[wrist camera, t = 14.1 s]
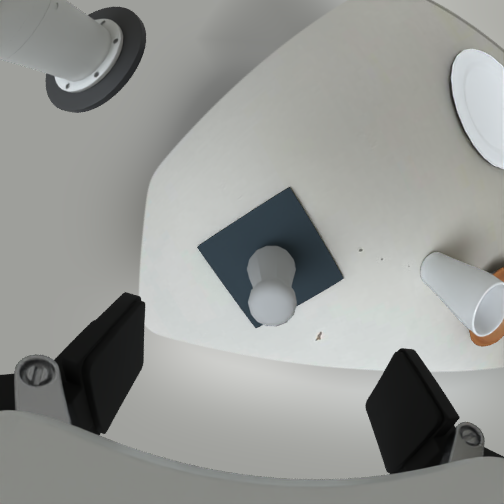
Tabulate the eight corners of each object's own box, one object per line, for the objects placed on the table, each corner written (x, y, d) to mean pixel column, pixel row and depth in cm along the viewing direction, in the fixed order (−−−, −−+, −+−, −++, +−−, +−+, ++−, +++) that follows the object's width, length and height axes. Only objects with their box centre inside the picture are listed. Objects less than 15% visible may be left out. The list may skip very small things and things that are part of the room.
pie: (519, 255, 34) (535, 263, 29) (503, 328, 38) (516, 339, 33) (468, 262, 35) (486, 272, 30) (451, 344, 39) (464, 359, 34)
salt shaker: (260, 290, 37) (255, 345, 25) (241, 252, 36) (226, 294, 24) (301, 273, 37) (315, 322, 24) (283, 233, 35) (290, 266, 23)
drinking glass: (425, 239, 35) (490, 274, 20) (455, 253, 35) (518, 289, 21) (407, 282, 37) (462, 333, 22) (438, 293, 37) (493, 341, 22)
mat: (197, 245, 37) (196, 247, 36) (289, 186, 34) (289, 187, 34) (256, 326, 40) (255, 328, 39) (342, 277, 37) (343, 278, 36)
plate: (425, 92, 29) (431, 89, 27) (471, 33, 24) (476, 30, 22) (498, 194, 32) (504, 196, 30) (533, 123, 27) (539, 122, 25)
